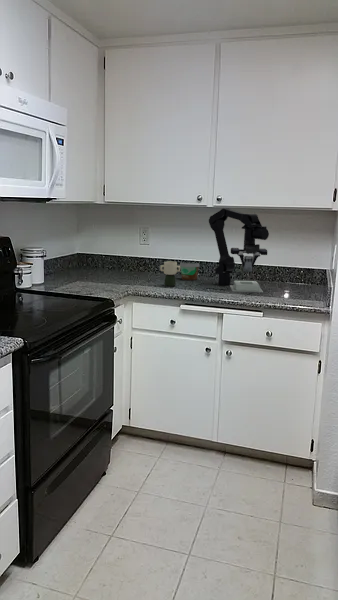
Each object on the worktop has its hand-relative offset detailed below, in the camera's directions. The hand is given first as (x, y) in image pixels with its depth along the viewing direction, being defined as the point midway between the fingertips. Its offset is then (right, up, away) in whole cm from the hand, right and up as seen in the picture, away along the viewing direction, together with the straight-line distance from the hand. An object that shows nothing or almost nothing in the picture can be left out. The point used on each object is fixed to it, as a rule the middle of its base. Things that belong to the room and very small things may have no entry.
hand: (247, 267), depth 261 cm
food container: (-31, -6, +28) cm, 42 cm away
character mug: (-41, -10, +8) cm, 43 cm away
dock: (0, -12, +3) cm, 12 cm away
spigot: (0, -2, 0) cm, 2 cm away
